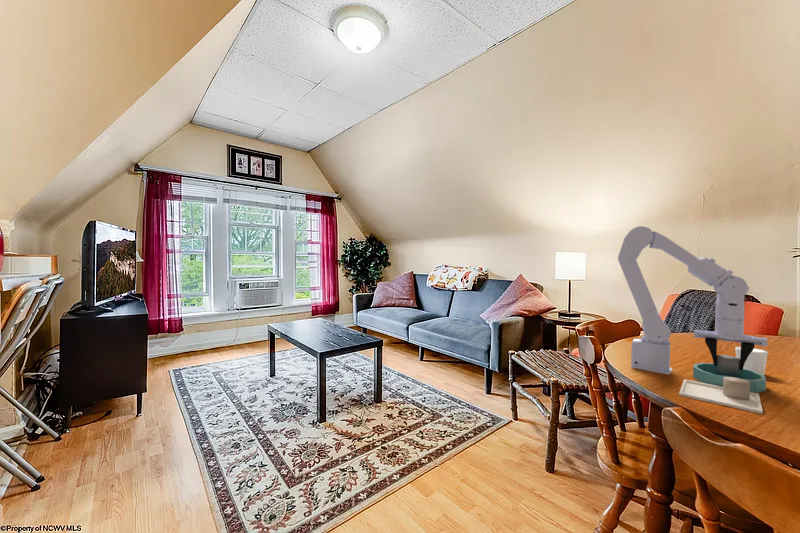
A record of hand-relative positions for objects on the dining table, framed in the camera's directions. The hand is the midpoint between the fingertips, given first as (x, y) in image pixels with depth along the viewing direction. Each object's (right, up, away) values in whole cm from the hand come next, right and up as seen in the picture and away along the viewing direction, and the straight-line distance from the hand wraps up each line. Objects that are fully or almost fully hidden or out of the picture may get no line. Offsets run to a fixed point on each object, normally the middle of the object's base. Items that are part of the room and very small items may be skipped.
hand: (727, 367), depth 94 cm
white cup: (+14, -4, +7) cm, 16 cm away
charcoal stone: (0, -1, 0) cm, 1 cm away
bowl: (-2, -4, -2) cm, 5 cm away
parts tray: (-13, -4, -12) cm, 18 cm away
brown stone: (-9, -4, -12) cm, 16 cm away
